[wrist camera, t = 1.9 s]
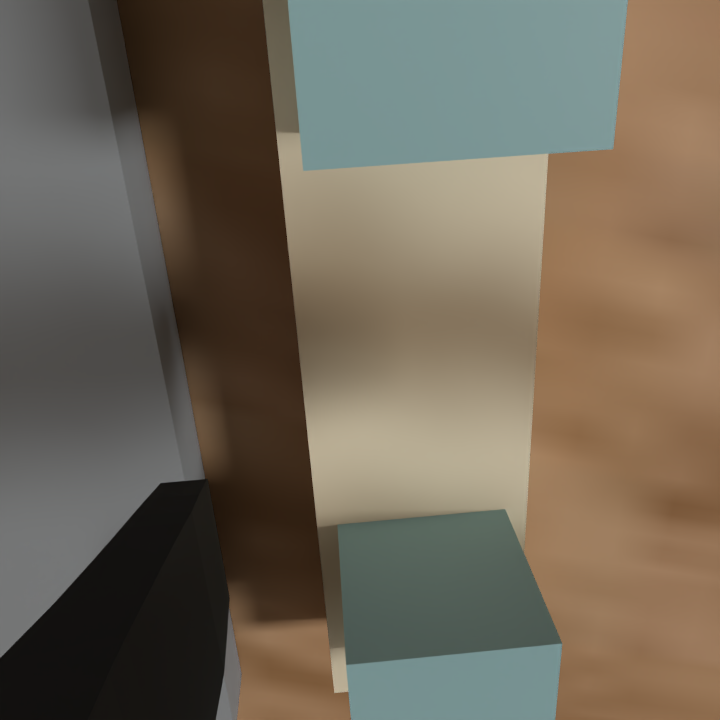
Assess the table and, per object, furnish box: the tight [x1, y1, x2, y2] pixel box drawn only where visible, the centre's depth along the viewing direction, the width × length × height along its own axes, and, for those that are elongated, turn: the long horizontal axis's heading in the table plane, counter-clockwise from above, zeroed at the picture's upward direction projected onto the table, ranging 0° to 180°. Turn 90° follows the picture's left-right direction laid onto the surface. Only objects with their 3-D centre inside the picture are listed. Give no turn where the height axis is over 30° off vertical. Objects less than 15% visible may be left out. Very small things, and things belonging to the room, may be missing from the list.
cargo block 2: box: [338, 509, 562, 720], centre depth 15 cm, size 4×4×4 cm
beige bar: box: [262, 0, 548, 693], centre depth 16 cm, size 20×5×3 cm, turn 3°
